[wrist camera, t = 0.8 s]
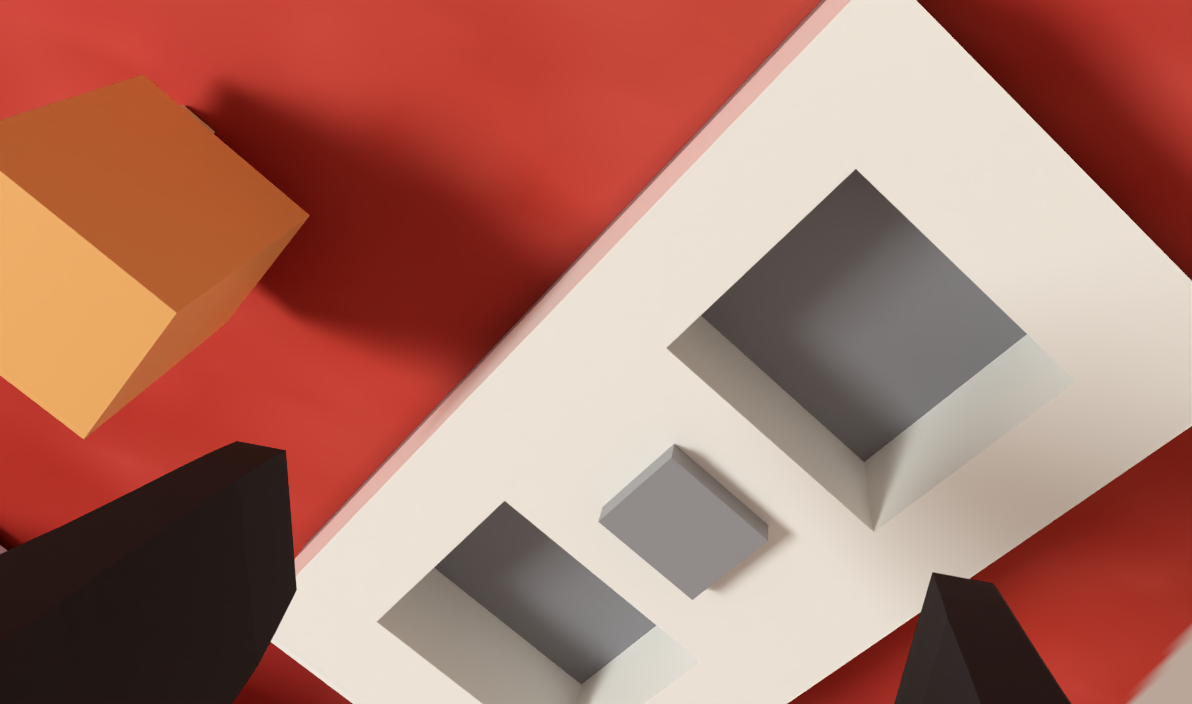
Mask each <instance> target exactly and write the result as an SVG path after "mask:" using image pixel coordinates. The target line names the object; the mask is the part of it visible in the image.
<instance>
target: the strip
mask: <svg viewBox="0 0 1192 704" xmlns="http://www.w3.org/2000/svg"><path fill="white" fill-rule="evenodd" d="M1191 426H1192V281H1191V280H1190V279H1189V278H1188V277H1187V276H1186V275H1185V274H1184V273H1183V272H1182V270H1181V269H1180V268H1179V267H1178V266H1177V265H1176V264H1175V263H1174V262H1173V261H1172V260H1171V259H1170V258H1169V257H1168V256H1167V255H1166V254H1165V253H1164V252H1163V251H1162V250H1161V249H1160V248H1159V247H1158V246H1157V245H1156V244H1155V243H1154V242H1153V241H1152V240H1151V239H1150V238H1149V237H1148V236H1147V235H1146V234H1145V233H1144V232H1143V231H1142V230H1141V229H1140V228H1139V227H1138V226H1137V225H1136V224H1135V223H1134V222H1133V221H1132V220H1131V219H1130V218H1129V216H1128V215H1127V214H1126V213H1125V212H1124V211H1123V210H1122V209H1121V208H1120V207H1119V206H1118V205H1117V204H1116V203H1115V202H1114V201H1113V200H1112V199H1111V198H1110V197H1109V196H1108V195H1107V194H1106V193H1105V192H1104V191H1103V190H1102V189H1101V188H1100V187H1099V186H1098V185H1097V184H1096V183H1095V182H1094V181H1093V180H1092V179H1091V178H1090V177H1089V176H1088V175H1087V174H1086V173H1085V172H1084V171H1083V170H1082V169H1081V168H1080V167H1079V166H1078V165H1077V164H1076V163H1075V161H1074V160H1073V159H1072V158H1071V157H1070V156H1069V155H1068V154H1067V153H1066V152H1065V151H1064V150H1063V149H1062V148H1061V147H1060V146H1059V145H1058V144H1057V143H1056V142H1055V141H1054V140H1053V139H1052V138H1051V137H1050V136H1049V135H1048V134H1047V133H1046V132H1045V131H1044V130H1043V129H1042V128H1041V127H1040V126H1039V125H1038V124H1037V123H1036V122H1035V121H1034V120H1033V119H1032V118H1031V117H1030V116H1029V115H1028V114H1027V113H1026V112H1025V111H1024V110H1023V109H1022V108H1021V106H1020V105H1019V104H1018V103H1017V102H1016V101H1015V100H1014V99H1013V98H1012V97H1011V96H1010V95H1009V94H1008V93H1007V92H1006V91H1005V90H1004V89H1003V88H1002V87H1001V86H1000V85H999V84H998V83H997V82H996V81H995V80H994V79H993V78H992V77H991V76H990V75H989V74H988V73H987V72H986V71H985V70H984V69H983V68H982V67H981V66H980V65H979V64H978V63H977V62H976V61H975V60H974V59H973V58H972V57H971V56H970V55H969V54H968V52H967V51H966V50H965V49H964V48H963V47H962V46H961V45H960V44H959V43H958V42H957V41H956V40H955V39H954V38H953V37H952V36H951V35H950V34H949V33H948V32H947V31H946V30H945V29H944V28H943V27H942V26H941V25H940V24H939V23H938V22H937V21H936V20H935V19H934V18H933V17H932V16H931V15H930V14H929V13H928V12H927V11H926V10H925V9H924V8H923V7H922V6H921V5H920V4H919V3H918V2H917V1H916V0H822V1H821V2H820V3H819V4H818V5H817V6H816V7H815V8H814V9H813V10H812V12H811V13H810V14H809V15H808V16H807V17H806V18H805V19H804V20H803V21H802V22H801V23H800V24H799V25H798V26H797V27H796V28H795V29H794V30H793V32H792V33H791V34H790V35H789V36H788V37H787V38H786V39H785V40H784V41H783V42H782V43H781V44H780V45H779V46H778V47H777V48H776V49H775V50H774V52H773V53H772V54H771V55H770V56H769V57H768V58H767V59H766V60H765V61H764V62H763V63H762V64H761V65H760V66H759V67H758V68H757V69H756V70H755V72H754V73H753V74H752V75H751V76H750V77H749V78H748V79H747V80H746V81H745V82H744V83H743V84H742V85H741V86H740V87H739V88H738V89H737V91H736V92H735V93H734V94H733V95H732V96H731V97H730V98H729V99H728V100H727V101H726V102H725V103H724V104H723V105H722V106H721V107H720V108H719V109H718V111H717V112H716V113H715V114H714V115H713V116H712V117H711V118H710V119H709V120H708V121H707V122H706V123H705V124H704V125H703V126H702V127H701V128H700V129H699V131H698V132H697V133H696V134H695V135H694V136H693V137H692V138H691V139H690V140H689V141H688V142H687V143H686V144H685V145H684V146H683V147H682V148H681V149H680V151H679V152H678V153H677V154H676V155H675V156H674V157H673V158H672V159H671V160H670V161H669V162H668V163H667V164H666V165H665V166H664V167H663V168H662V170H661V171H660V172H659V173H658V174H657V175H656V176H655V177H654V178H653V179H652V180H651V181H650V182H649V183H648V184H647V185H646V186H645V187H644V188H643V190H642V191H641V192H640V193H639V194H638V195H637V196H636V197H635V198H634V199H633V200H632V201H631V202H630V203H629V204H628V205H627V206H626V207H625V208H624V210H623V211H622V212H621V213H620V214H619V215H618V216H617V217H616V218H615V219H614V220H613V221H612V222H611V223H610V224H609V225H608V226H607V227H606V228H605V230H604V231H603V232H602V233H601V234H600V235H599V236H598V237H597V238H596V239H595V240H594V241H593V242H592V243H591V244H590V245H589V246H588V247H587V249H586V250H585V251H584V252H583V253H582V254H581V255H580V256H579V257H578V258H577V259H576V260H575V261H574V262H573V263H572V264H571V265H570V266H569V267H568V269H567V270H566V271H565V272H564V273H563V274H562V275H561V276H560V277H559V278H558V279H557V280H556V281H555V282H554V283H553V284H552V285H551V286H550V287H549V289H548V290H547V291H546V292H545V293H544V294H543V295H542V296H541V297H540V298H539V299H538V300H537V301H536V302H535V303H534V304H533V305H532V306H531V307H530V309H529V310H528V311H527V312H526V313H525V314H524V315H523V316H522V317H521V318H520V319H519V320H518V321H517V322H516V323H515V324H514V325H513V326H512V328H511V329H510V330H509V331H508V332H507V333H506V334H505V335H504V336H503V337H502V338H501V339H500V340H499V341H498V342H497V343H496V344H495V345H494V346H493V348H492V349H491V350H490V351H489V352H488V353H487V354H486V355H485V356H484V357H483V358H482V359H481V360H480V361H479V362H478V363H477V364H476V365H475V366H474V368H473V369H472V370H471V371H470V372H469V373H468V374H467V375H466V376H465V377H464V378H463V379H462V380H461V381H460V382H459V383H458V384H457V385H456V386H455V388H454V389H453V390H452V391H451V392H450V393H449V394H448V395H447V396H446V397H445V398H444V399H443V400H442V401H441V402H440V403H439V404H438V405H437V407H436V408H435V409H434V410H433V411H432V412H431V413H430V414H429V415H428V416H427V417H426V418H425V419H424V420H423V421H422V422H421V423H420V424H419V425H418V427H417V428H416V429H415V430H414V431H413V432H412V433H411V434H410V435H409V436H408V437H407V438H406V439H405V440H404V441H403V442H402V443H401V444H400V445H399V447H398V448H397V449H396V450H395V451H394V452H393V453H392V454H391V455H390V456H389V457H388V458H387V459H386V460H385V461H384V462H383V463H382V464H381V465H380V467H379V468H378V469H377V470H376V471H375V472H374V473H373V474H372V475H371V476H370V477H369V478H368V479H367V480H366V481H365V482H364V483H363V484H362V486H361V487H360V488H359V489H358V490H357V491H356V492H355V493H354V494H353V495H352V496H351V497H350V498H349V499H348V500H347V501H346V502H345V503H344V504H343V506H342V507H341V508H340V509H339V510H338V511H337V512H336V513H335V514H334V515H333V516H332V517H331V518H330V519H329V520H328V521H327V522H326V523H325V524H324V526H323V527H322V528H321V529H320V530H319V531H318V532H317V533H316V534H315V535H314V536H313V537H312V538H311V539H310V540H309V541H308V542H307V543H306V545H305V546H304V547H303V549H302V550H301V552H300V553H299V554H298V556H297V557H296V559H295V560H294V561H295V574H296V587H297V591H296V593H295V595H294V597H293V599H292V601H291V603H290V605H289V607H288V609H287V611H286V613H285V615H284V617H283V619H282V621H281V623H280V625H279V627H278V629H277V631H276V633H275V634H274V636H273V638H272V640H271V642H272V643H273V644H274V645H276V646H277V647H278V648H280V649H281V650H282V651H283V652H285V653H286V654H287V655H289V656H290V657H291V658H293V659H294V660H295V661H297V662H298V663H299V664H301V665H302V666H303V667H305V668H306V669H307V670H309V671H310V672H311V673H313V674H314V675H315V676H317V677H318V678H319V679H321V680H322V681H323V682H325V683H326V684H327V685H329V686H330V687H331V688H333V689H334V690H335V691H337V692H338V693H339V694H341V695H342V696H343V697H345V698H346V699H347V700H349V701H350V702H351V703H353V704H787V703H789V702H790V701H792V700H793V699H795V698H796V697H798V696H799V695H801V694H802V693H803V692H805V691H806V690H808V689H809V688H811V687H812V686H814V685H815V684H817V683H818V682H819V681H821V680H822V679H824V678H825V677H827V676H828V675H830V674H831V673H833V672H834V671H836V670H837V669H838V668H840V667H841V666H843V665H844V664H846V663H847V662H849V661H850V660H852V659H853V658H854V657H856V656H857V655H859V654H860V653H862V652H863V651H865V650H866V649H868V648H869V647H870V646H872V645H873V644H875V643H876V642H878V641H879V640H881V639H882V638H884V637H885V636H886V635H888V634H889V633H891V632H892V631H894V630H895V629H897V628H898V627H900V626H901V625H903V624H904V623H905V622H907V621H908V620H910V619H911V618H913V617H914V616H916V615H917V614H919V613H920V612H921V610H922V606H923V603H924V599H925V596H926V592H927V589H928V585H929V582H930V579H931V575H932V572H935V573H940V574H946V575H951V576H956V577H961V578H967V579H970V578H971V577H972V576H974V575H975V574H977V573H978V572H980V571H981V570H983V569H984V568H986V567H987V566H988V565H990V564H991V563H993V562H994V561H996V560H997V559H999V558H1000V557H1002V556H1003V555H1004V554H1006V553H1007V552H1009V551H1010V550H1012V549H1013V548H1015V547H1016V546H1018V545H1019V544H1020V543H1022V542H1023V541H1025V540H1026V539H1028V538H1029V537H1031V536H1032V535H1034V534H1035V533H1037V532H1038V531H1039V530H1041V529H1042V528H1044V527H1045V526H1047V525H1048V524H1050V523H1051V522H1053V521H1054V520H1055V519H1057V518H1058V517H1060V516H1061V515H1063V514H1064V513H1066V512H1067V511H1069V510H1070V509H1071V508H1073V507H1074V506H1076V505H1077V504H1079V503H1080V502H1082V501H1083V500H1085V499H1086V498H1087V497H1089V496H1090V495H1092V494H1093V493H1095V492H1096V491H1098V490H1099V489H1101V488H1102V487H1104V486H1105V485H1106V484H1108V483H1109V482H1111V481H1112V480H1114V479H1115V478H1117V477H1118V476H1120V475H1121V474H1122V473H1124V472H1125V471H1127V470H1128V469H1130V468H1131V467H1133V466H1134V465H1136V464H1137V463H1138V462H1140V461H1141V460H1143V459H1144V458H1146V457H1147V456H1149V455H1150V454H1152V453H1153V452H1154V451H1156V450H1157V449H1159V448H1160V447H1162V446H1163V445H1165V444H1166V443H1168V442H1169V441H1170V440H1172V439H1173V438H1175V437H1176V436H1178V435H1179V434H1181V433H1182V432H1184V431H1185V430H1187V429H1188V428H1189V427H1191Z"/></svg>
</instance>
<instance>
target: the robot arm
mask: <svg viewBox="0 0 1192 704" xmlns="http://www.w3.org/2000/svg"><path fill="white" fill-rule="evenodd" d="M296 591H297V587H296V574H295V561H294V549H293V536H292V523H291V510H290V498H289V485H288V472H287V460H286V450H281V449H275V448H270V447H265V446H259V445H254V444H249V443H243V442H238V441H236V442H234V443H231V444H229V445H227V446H224V447H222V448H220V449H217V450H215V451H213V452H211V453H209V454H206V455H204V456H202V457H200V458H198V459H196V460H194V461H192V462H190V463H188V464H186V465H184V466H182V467H180V468H178V469H176V470H174V471H172V472H170V473H168V474H166V475H164V476H162V477H160V478H158V479H156V480H154V481H152V482H150V483H148V484H146V485H144V486H142V487H140V488H138V489H136V490H134V491H132V492H130V493H128V494H126V495H124V496H122V497H120V498H118V499H116V500H114V501H112V502H110V503H108V504H106V505H104V506H102V507H100V508H98V509H96V510H94V511H92V512H90V513H88V514H86V515H84V516H82V517H79V518H77V519H75V520H73V521H71V522H69V523H67V524H65V525H63V526H61V527H59V528H57V529H54V530H52V531H50V532H48V533H46V534H43V535H41V536H39V537H37V538H34V539H32V540H30V541H28V542H26V543H23V544H21V545H19V546H17V547H15V548H12V549H10V550H6V549H5V548H4V547H2V546H1V545H0V704H232V703H233V701H234V700H235V698H236V697H237V695H238V694H239V692H240V691H241V690H242V688H243V687H244V685H245V684H246V682H247V681H248V679H249V678H250V676H251V675H252V673H253V672H254V670H255V669H256V667H257V666H258V664H259V662H260V660H261V659H262V657H263V655H264V653H265V651H266V649H267V647H268V646H269V644H270V642H271V640H272V638H273V636H274V634H275V633H276V631H277V629H278V627H279V625H280V623H281V621H282V619H283V617H284V615H285V613H286V611H287V609H288V607H289V605H290V603H291V601H292V599H293V597H294V595H295V593H296ZM894 704H1071V703H1070V701H1069V700H1068V698H1067V697H1066V695H1065V694H1064V692H1063V691H1062V689H1061V688H1060V686H1059V685H1058V683H1057V682H1056V680H1055V679H1054V677H1053V675H1052V674H1051V672H1050V671H1049V669H1048V668H1047V666H1046V665H1045V663H1044V662H1043V660H1042V659H1041V657H1040V655H1039V654H1038V652H1037V651H1036V649H1035V648H1034V646H1033V644H1032V643H1031V641H1030V640H1029V638H1028V636H1027V635H1026V633H1025V632H1024V630H1023V629H1022V627H1021V625H1020V624H1019V622H1018V621H1017V619H1016V617H1015V616H1014V614H1013V613H1012V611H1011V609H1010V608H1009V606H1008V605H1007V603H1006V601H1005V600H1004V598H1003V597H1002V595H1001V594H1000V592H999V591H998V590H997V588H996V587H995V585H994V584H993V583H988V582H983V581H977V580H972V579H967V578H961V577H956V576H951V575H946V574H940V573H935V572H932V575H931V579H930V582H929V585H928V589H927V592H926V596H925V599H924V603H923V606H922V610H921V613H920V617H919V620H918V624H917V627H916V631H915V634H914V637H913V641H912V644H911V648H910V651H909V655H908V658H907V662H906V665H905V669H904V672H903V676H902V679H901V683H900V686H899V689H898V693H897V696H896V700H895V703H894Z"/></svg>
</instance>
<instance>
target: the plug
mask: <svg viewBox="0 0 1192 704" xmlns="http://www.w3.org/2000/svg"><path fill="white" fill-rule="evenodd" d="M214 133H215V131H214V130H212V129H211V128H210V127H209V126H208V125H207V124H205V123H204V122H203V121H202V120H201V119H199V118H198V117H197V116H196V115H195V114H194V113H192V112H191V111H190V110H189V109H188V108H186V107H185V106H184V105H182V106H180V105H179V104H178V103H176V102H175V101H174V100H173V99H172V98H171V97H169V96H168V95H167V94H166V93H165V92H163V91H162V90H161V89H160V88H159V87H158V86H156V85H155V84H154V83H153V82H152V81H150V80H149V79H148V78H147V77H146V76H145V75H140V76H137V77H134V78H130V79H127V80H124V81H121V82H118V83H115V84H112V85H109V86H105V87H102V88H99V89H96V90H93V91H90V92H87V93H84V94H80V95H77V96H74V97H71V98H68V99H65V100H62V101H59V102H55V103H52V104H49V105H46V106H43V107H40V108H37V109H34V110H30V111H27V112H24V113H21V114H18V115H15V116H12V117H9V118H6V119H2V120H0V376H2V377H3V378H4V379H6V380H7V381H8V382H10V383H11V384H12V385H14V386H15V387H16V388H17V389H19V390H20V391H21V392H23V393H24V394H25V395H27V396H28V397H29V398H31V399H32V400H33V401H34V402H36V403H37V404H38V405H40V406H41V407H42V408H44V409H45V410H46V411H48V412H49V413H50V414H51V415H53V416H54V417H55V418H57V419H58V420H59V421H61V422H62V423H63V424H65V425H66V426H67V427H68V428H70V429H71V430H72V431H74V432H75V433H76V434H78V435H79V436H80V437H82V438H83V439H85V438H86V437H87V436H88V435H90V434H91V433H92V432H93V431H94V430H96V429H97V428H98V427H99V426H101V425H102V424H103V423H104V422H106V421H107V420H108V419H109V418H110V417H112V416H113V415H114V414H115V413H117V412H118V411H119V410H120V409H121V408H123V407H124V406H125V405H126V404H128V403H129V402H130V401H131V400H132V399H134V398H135V397H136V396H137V395H139V394H140V393H141V392H142V391H143V390H145V389H146V388H147V387H148V386H150V385H151V384H152V383H153V382H155V381H156V380H157V379H158V378H159V377H161V376H162V375H163V374H164V373H166V372H167V371H168V370H169V369H170V368H172V367H173V366H174V365H175V364H177V363H178V362H179V361H180V360H181V359H183V358H184V357H185V356H186V355H188V354H189V353H190V352H191V351H192V350H194V349H195V348H196V347H197V346H199V345H200V344H201V343H202V342H203V341H205V340H206V339H207V338H208V337H210V336H211V335H212V334H213V333H215V332H216V331H217V330H218V329H219V328H221V327H222V326H223V325H224V324H226V323H227V322H228V321H229V320H230V318H231V317H232V316H233V314H234V313H235V312H236V310H237V309H238V308H239V307H240V305H241V304H242V303H243V301H244V300H245V299H246V297H247V296H248V295H249V294H250V292H251V291H252V290H253V288H254V287H255V286H256V285H257V283H258V282H259V281H260V279H261V278H262V277H263V275H264V274H265V273H266V272H267V270H268V269H269V268H270V266H271V265H272V264H273V263H274V261H275V260H276V259H277V257H278V256H279V255H280V253H281V252H282V251H283V250H284V248H285V247H286V246H287V244H288V243H289V242H290V240H291V239H292V238H293V237H294V235H295V234H296V233H297V231H298V230H299V229H300V228H301V226H302V225H303V224H304V222H305V221H306V220H307V218H308V217H309V216H310V215H309V214H308V213H306V212H305V211H304V210H303V209H302V208H300V207H299V206H298V205H297V204H296V203H295V202H293V201H292V200H291V199H290V198H289V197H287V196H286V195H285V194H284V193H283V192H282V191H280V190H279V189H278V188H277V187H276V186H274V185H273V184H272V183H271V182H270V181H269V180H267V179H266V178H265V177H264V176H263V175H261V174H260V173H259V172H258V171H257V170H256V169H254V168H253V167H252V166H251V165H250V164H248V163H247V162H246V161H245V160H244V159H243V158H241V157H240V156H239V155H238V154H237V153H235V152H234V151H233V150H232V149H231V148H230V147H228V146H227V145H226V144H225V143H224V142H222V141H221V140H220V139H219V138H218V137H217V136H215V135H214Z"/></svg>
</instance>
